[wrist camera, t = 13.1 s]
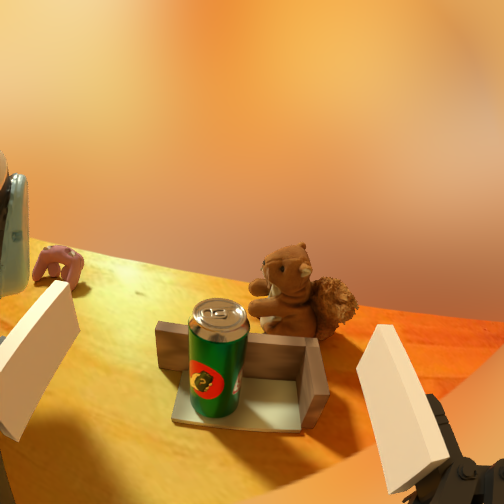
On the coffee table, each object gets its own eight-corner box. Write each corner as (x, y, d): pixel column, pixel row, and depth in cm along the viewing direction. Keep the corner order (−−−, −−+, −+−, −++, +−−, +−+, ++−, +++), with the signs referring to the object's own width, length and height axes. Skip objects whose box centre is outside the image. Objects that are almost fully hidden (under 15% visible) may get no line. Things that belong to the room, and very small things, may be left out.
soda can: (242, 419, 28) (257, 331, 23) (192, 422, 26) (189, 333, 21) (234, 383, 32) (244, 294, 27) (188, 385, 31) (186, 295, 26)
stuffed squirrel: (246, 306, 47) (257, 226, 42) (335, 318, 47) (358, 242, 41) (238, 350, 38) (250, 258, 33) (344, 362, 38) (377, 277, 32)
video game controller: (84, 291, 47) (89, 250, 47) (69, 293, 42) (74, 249, 42) (44, 280, 47) (48, 242, 47) (29, 280, 43) (33, 240, 43)
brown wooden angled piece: (143, 415, 27) (134, 379, 24) (161, 359, 35) (158, 320, 32) (313, 432, 27) (330, 399, 25) (305, 374, 35) (317, 338, 33)
